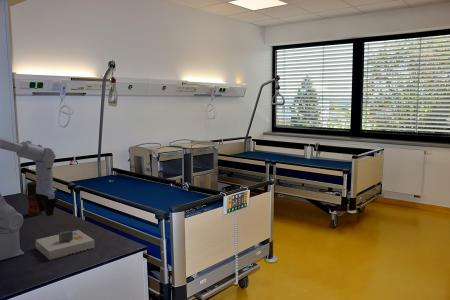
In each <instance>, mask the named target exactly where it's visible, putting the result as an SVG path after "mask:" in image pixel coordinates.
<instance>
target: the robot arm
mask: <svg viewBox="0 0 450 300" xmlns="http://www.w3.org/2000/svg"><path fill="white" fill-rule="evenodd" d="M0 149H1V150H5V151H9V152H14V153H16V155H17V157H19V158H22V159H27V160H29V161H33V162H34V163H35V182H36V194H33V196H34V198H35V199H36V202H37V205H38V208H39V211H40V212H41V211H42V212H45V213H44V214H45V215H46V217H51V216H53V215H54V211H55V207H56V204H57V202H58V200H59V197H58V196H56V194H55V192H56V191H57V188H55V187H54V178H53V177H54V176H53V174H54V173H53V172H54V171H53V168H54V167H53V166H54V161H55V159H56V155H57V154H55V152H54V150H53V149H52V148H51V147H50V148H49V147H43V145H42V144H38V145H37V144H33V143H32V141H30V140H26V141H22V142H20V143H19V142H15V141H14V140H10V139H6V138H3V137H2V136H0ZM23 223H24V216H23V214H21V213H20V212H18V211H17V210H16V209H15V208H14V207H13V206H12V205H10V204H9V203H8V202H7V201H6V199H5V198H4V196H3V195H2V193H1V192H0V261H2V260H6V259H9V258H14V257H19V256H22V255H25V252H24V251H23V250H22V249H21V244H20V229H21V227H22V225H23Z"/></svg>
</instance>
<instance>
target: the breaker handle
mask: <svg viewBox="0 0 450 300" xmlns="http://www.w3.org/2000/svg"><path fill="white" fill-rule="evenodd" d="M58 235H59V241H60V242H65V241H69V240H73V233H72V230H70V229H69V230H65V231H60V232H58Z"/></svg>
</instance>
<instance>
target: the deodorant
mask: <svg viewBox="0 0 450 300" xmlns="http://www.w3.org/2000/svg"><path fill="white" fill-rule="evenodd" d="M26 193H27V196H26V197H27V214H28V216H30V217H36V216H42V215H43V211H41V212H40V211H39V208H38V205H37V202H36V199H35V198H34V196H33V194H36V181H29V182H27V183H26Z"/></svg>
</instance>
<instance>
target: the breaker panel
mask: <svg viewBox="0 0 450 300" xmlns="http://www.w3.org/2000/svg"><path fill="white" fill-rule="evenodd" d="M71 231H72V230H71ZM72 233H73V240H69V241H65V242H60V241H59V234H56V235H51V236H50V235H49V236H47V237H46V236H45V237H42V238H37V239H35V249H37V250H38V251H39V252H40V253H41V254H42V255H44V256H45V258H46V259H48V260H49V261H51V260H54V259H58V258H59V259H60V258H62V257H66V256H69V254H70V255H73V254H77V253H80V251H81V252H83V251H84V250H85V251H88V250H91V248H92V249H95V248H94V247H95V239H93V238H92V237H90V236H89V235H88V234H86V233H84V232H82V231H81V230H80V229H76V230H73V231H72ZM87 249H88V250H87ZM85 251H84V252H85ZM76 252H77V253H76ZM72 253H73V254H72Z"/></svg>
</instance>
